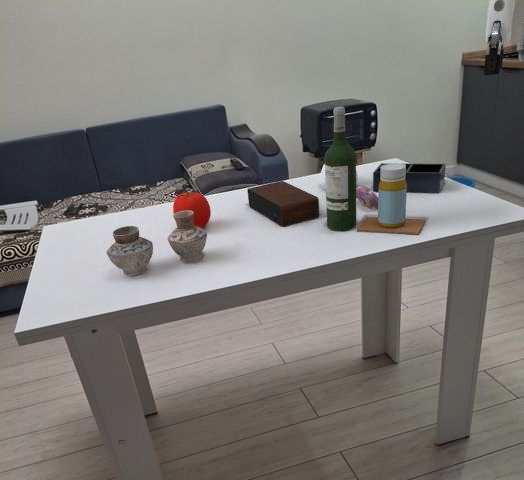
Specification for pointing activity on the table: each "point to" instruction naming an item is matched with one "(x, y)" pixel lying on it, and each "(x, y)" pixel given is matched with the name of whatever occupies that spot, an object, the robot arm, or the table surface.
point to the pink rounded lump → (366, 197)
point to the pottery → (140, 249)
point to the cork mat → (407, 228)
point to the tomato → (193, 207)
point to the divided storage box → (418, 177)
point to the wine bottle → (340, 178)
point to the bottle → (392, 195)
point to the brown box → (283, 203)
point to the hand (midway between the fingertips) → (492, 71)
